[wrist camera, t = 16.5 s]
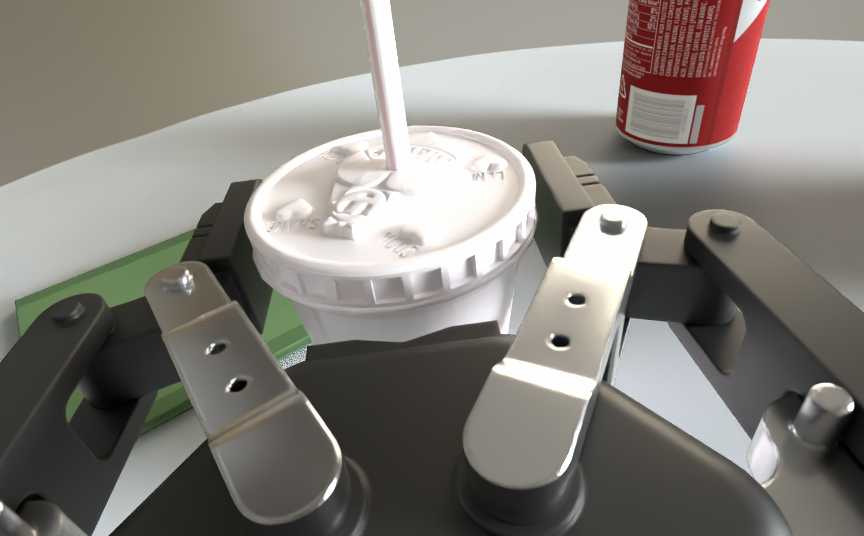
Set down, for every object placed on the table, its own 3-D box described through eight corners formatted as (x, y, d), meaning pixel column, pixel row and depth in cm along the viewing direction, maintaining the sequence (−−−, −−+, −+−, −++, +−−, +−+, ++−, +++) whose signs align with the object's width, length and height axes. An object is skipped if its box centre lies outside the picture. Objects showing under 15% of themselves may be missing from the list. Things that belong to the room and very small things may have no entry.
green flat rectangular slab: (398, 153, 35) (397, 147, 35) (528, 226, 27) (528, 218, 27) (19, 307, 26) (14, 300, 26) (43, 487, 18) (35, 479, 18)
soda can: (688, 174, 29) (743, -88, 22) (591, 138, 34) (609, -88, 27) (757, 134, 32) (826, -110, 25) (659, 106, 37) (693, -107, 29)
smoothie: (556, 398, 18) (584, -85, 10) (494, 584, 14) (450, -4, 6) (393, 353, 21) (304, -65, 12) (295, 499, 17) (56, 3, 8)
